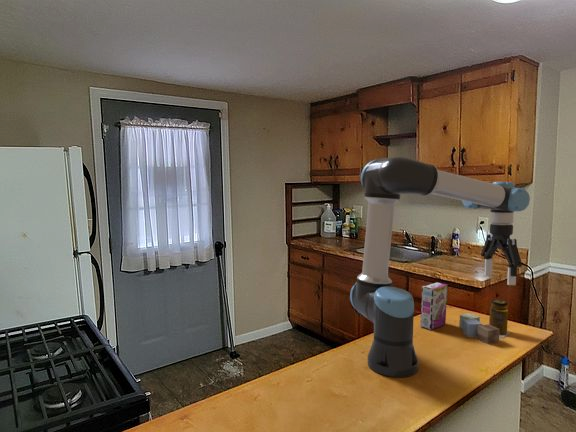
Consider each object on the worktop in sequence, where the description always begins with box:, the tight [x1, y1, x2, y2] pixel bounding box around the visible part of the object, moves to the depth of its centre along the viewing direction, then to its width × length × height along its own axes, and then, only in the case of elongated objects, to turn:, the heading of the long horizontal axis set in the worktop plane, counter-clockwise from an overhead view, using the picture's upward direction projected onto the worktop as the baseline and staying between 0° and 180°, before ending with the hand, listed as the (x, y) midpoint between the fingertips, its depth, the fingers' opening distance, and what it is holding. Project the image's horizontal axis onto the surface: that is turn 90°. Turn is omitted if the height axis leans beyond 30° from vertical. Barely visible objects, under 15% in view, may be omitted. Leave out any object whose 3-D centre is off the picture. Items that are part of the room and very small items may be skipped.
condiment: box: [488, 299, 511, 339], centre depth 146 cm, size 7×8×12 cm
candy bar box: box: [419, 282, 448, 331], centre depth 153 cm, size 11×5×16 cm, turn 130°
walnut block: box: [476, 323, 500, 345], centre depth 139 cm, size 5×5×5 cm
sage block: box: [458, 312, 481, 329], centre depth 151 cm, size 5×5×5 cm
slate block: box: [461, 319, 483, 338], centre depth 144 cm, size 5×5×5 cm
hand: (499, 280), depth 145 cm, fingers open, 13 cm apart
